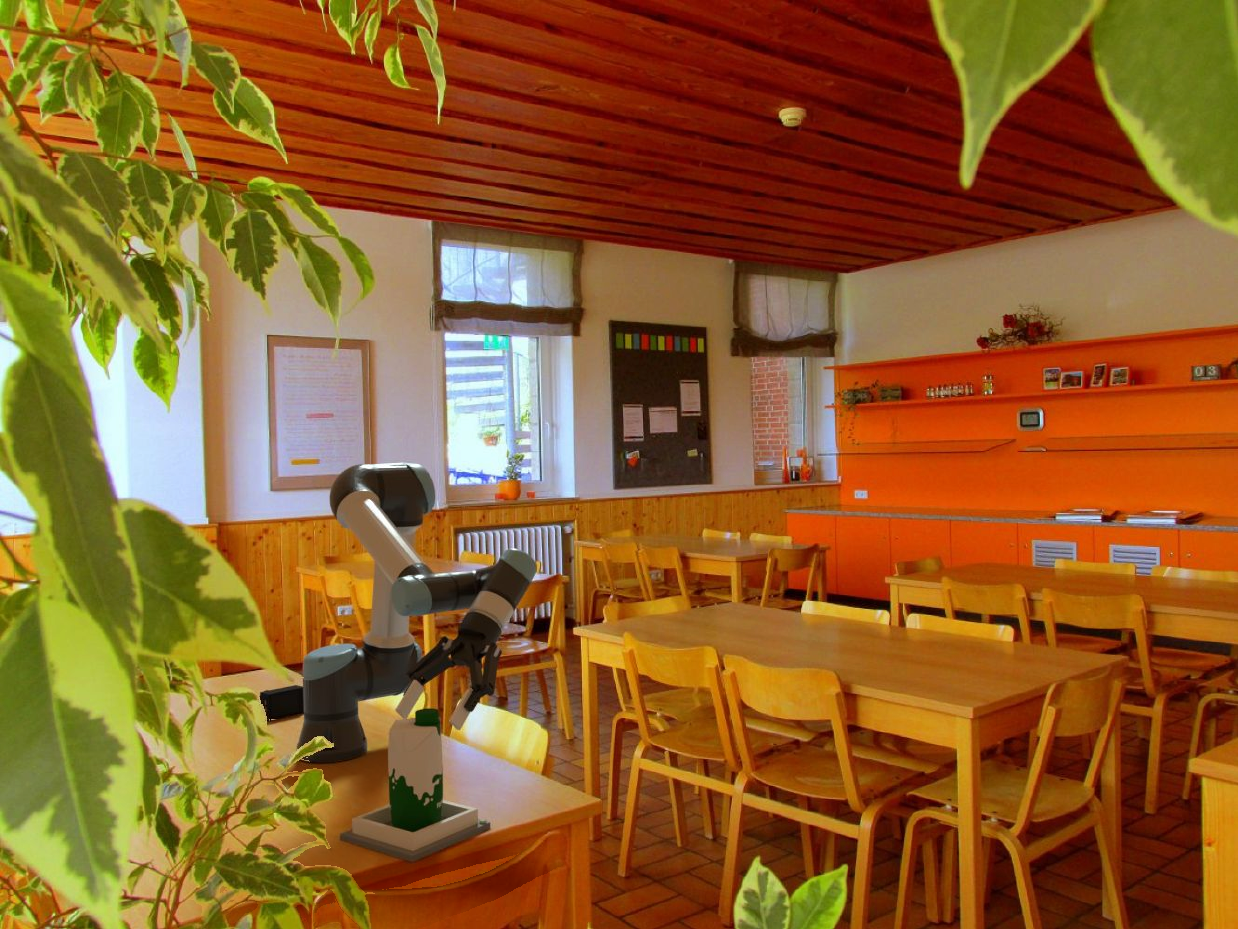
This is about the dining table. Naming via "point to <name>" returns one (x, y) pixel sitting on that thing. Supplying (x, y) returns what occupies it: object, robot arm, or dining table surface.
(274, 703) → the digital camera
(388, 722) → the dining table surface
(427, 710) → the soya milk
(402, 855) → the dock
